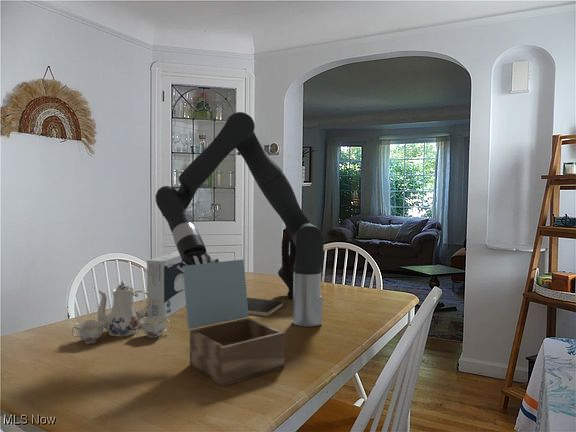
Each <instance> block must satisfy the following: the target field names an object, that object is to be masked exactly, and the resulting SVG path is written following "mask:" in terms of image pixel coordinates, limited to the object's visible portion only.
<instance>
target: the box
mask: <svg viewBox="0 0 576 432" xmlns="http://www.w3.org/2000/svg"><path fill="white" fill-rule="evenodd" d="M285 333H286V332H284V331H282V330H279V329H276V328H275V327H271V326H269V325H268V324H264V323H262V322H259V321H257V320H254V319H252V318H249V317H246V318H241V319H236V320H231V321H227V322H222V323H217V324H212V325H207V326H202V327H197V328H193V329H189V365H190V367H192V368H193V369H195V370H197V371H198V372H200V373H202V374H203V375H205V376H206V377H207V378H209V379H210V380H211V381H212V382H215V383H216V384H217V385H219V386H220V387H227V386H230V385H233V384H235V383H236V384H237V383H239V382H240V383H241V382H242V381H243V382H244V381H247V380H249V379H253V378H256V377H259V376H262V375H265V374H268V373H272V372H275V371H278V370H282V369H284V368H285V345H286V344H285V341H286V340H285V339H286V334H285Z"/></svg>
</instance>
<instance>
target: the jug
mask: <svg viewBox="0 0 576 432" xmlns="http://www.w3.org/2000/svg"><path fill="white" fill-rule="evenodd" d="M295 256H296V245H295V244H294V242H293V240H292V238H291V236H290V233H289V231H288V229H287V227H286V226H285V230H284V232H283V236H282V239H281V267H280V269H279V270H278V272H277V275H278V276H279V278H280V279H281V280H282V282H283V283H284V284H285V285H286V287H287V288H288V292H287V297H288V298H291V299H293V274H294V263H295ZM322 277H323V272H322V270H321V278H322Z"/></svg>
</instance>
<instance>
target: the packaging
mask: <svg viewBox="0 0 576 432" xmlns="http://www.w3.org/2000/svg"><path fill="white" fill-rule="evenodd" d="M181 262H182V259H181V256H180V254H179V251H178V250H176V251H173V252H169V253H168V254H163V255H161V256H157V257H155V258H150V259H148V260H146V287H147V288H146V292H147V293H148V294H149V295H150V298H151V303H150V305H149V307H148V308H147V309H146V310H147V311H146V313H147V315H146V317H150V318H151V317H153V316H156V315H159V316H162V317H163V318H164V317H170V316H172V315H174V314H175V313H176V312H179V311H180V310H181V309H184V308H185V307H186V298H185V286H184V275H183V274H182V273H181V272H179V271H178V270H177V268H178V266H179V264H180V263H181ZM146 296H147V295H146ZM148 303H149V298H148V296H147V297H146V306H147V305H148Z"/></svg>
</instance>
